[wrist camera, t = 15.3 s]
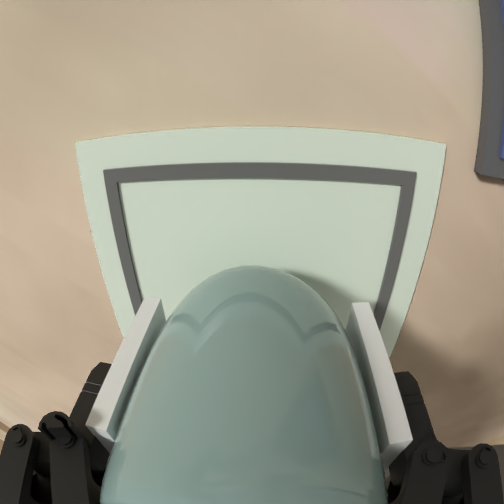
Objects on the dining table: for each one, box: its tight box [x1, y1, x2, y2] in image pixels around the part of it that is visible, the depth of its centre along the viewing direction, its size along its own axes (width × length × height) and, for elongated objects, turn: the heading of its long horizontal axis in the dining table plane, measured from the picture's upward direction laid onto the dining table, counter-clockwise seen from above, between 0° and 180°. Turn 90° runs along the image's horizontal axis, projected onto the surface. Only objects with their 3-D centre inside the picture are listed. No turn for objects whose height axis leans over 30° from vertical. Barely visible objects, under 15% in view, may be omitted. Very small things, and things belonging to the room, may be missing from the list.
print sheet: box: [75, 126, 446, 359], centre depth 15 cm, size 16×16×1 cm
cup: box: [100, 265, 388, 504], centre depth 10 cm, size 8×8×10 cm
